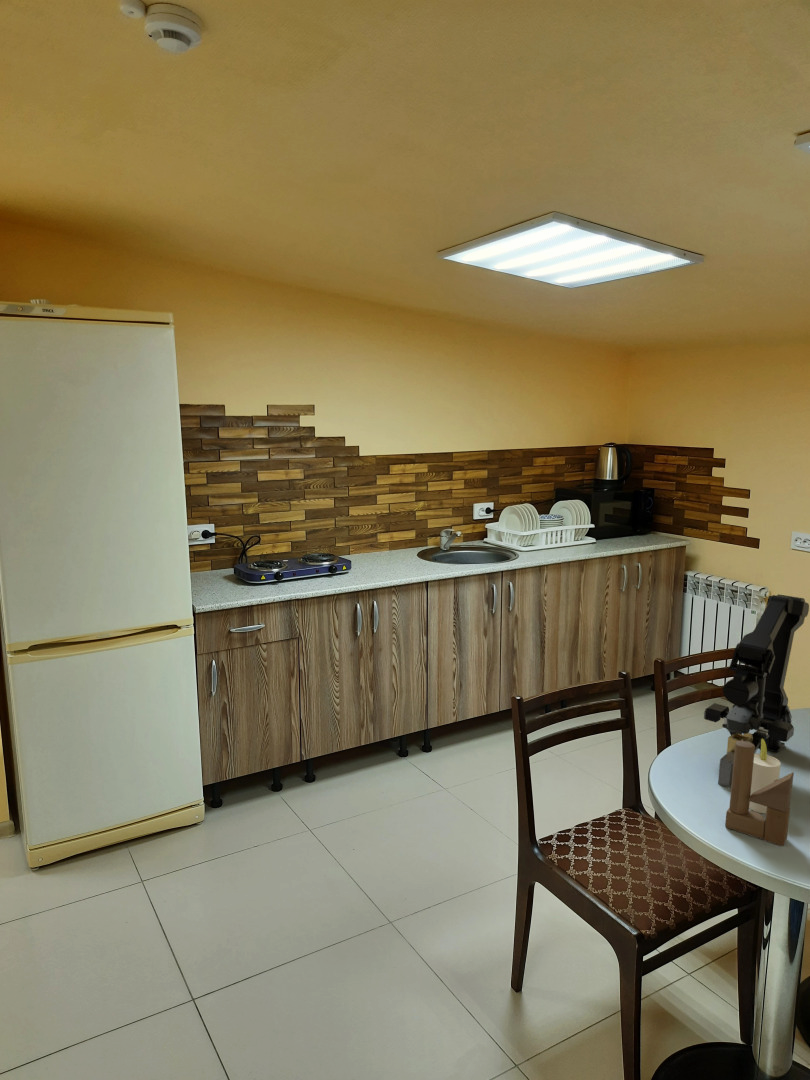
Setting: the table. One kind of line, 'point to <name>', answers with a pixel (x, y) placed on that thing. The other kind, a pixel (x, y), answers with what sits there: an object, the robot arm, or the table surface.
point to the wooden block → (758, 800)
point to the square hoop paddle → (735, 738)
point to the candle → (763, 774)
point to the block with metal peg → (726, 769)
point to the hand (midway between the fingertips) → (744, 755)
